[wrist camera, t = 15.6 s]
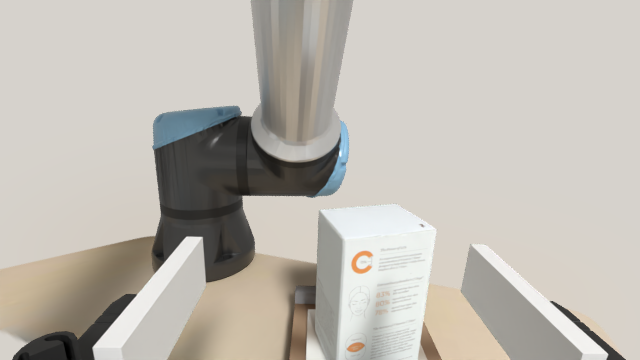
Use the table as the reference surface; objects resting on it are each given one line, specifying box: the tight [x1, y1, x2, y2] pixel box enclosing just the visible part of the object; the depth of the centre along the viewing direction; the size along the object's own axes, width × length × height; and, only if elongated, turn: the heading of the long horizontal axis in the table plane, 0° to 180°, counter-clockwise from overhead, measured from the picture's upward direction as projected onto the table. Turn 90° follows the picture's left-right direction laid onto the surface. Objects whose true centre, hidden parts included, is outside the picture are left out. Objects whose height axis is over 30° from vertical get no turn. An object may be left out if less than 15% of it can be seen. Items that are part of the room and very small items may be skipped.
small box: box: [315, 204, 437, 360], centre depth 28 cm, size 8×6×13 cm
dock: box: [289, 286, 442, 360], centre depth 30 cm, size 14×14×4 cm
